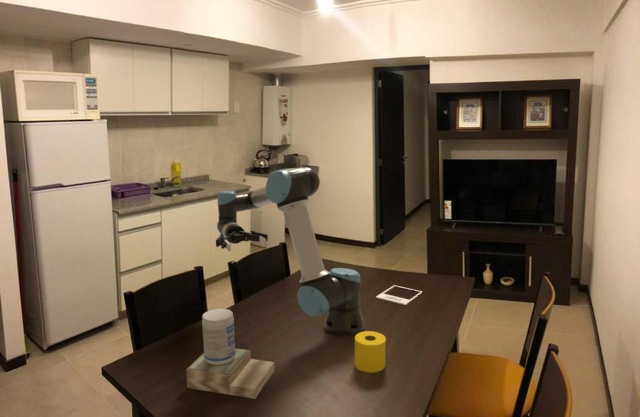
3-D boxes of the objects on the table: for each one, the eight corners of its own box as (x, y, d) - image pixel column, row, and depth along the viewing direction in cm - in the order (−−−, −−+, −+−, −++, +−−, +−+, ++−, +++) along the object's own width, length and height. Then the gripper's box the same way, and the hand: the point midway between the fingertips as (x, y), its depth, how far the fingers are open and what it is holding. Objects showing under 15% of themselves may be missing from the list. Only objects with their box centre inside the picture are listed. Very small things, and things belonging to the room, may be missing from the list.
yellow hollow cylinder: (353, 356, 163) (354, 331, 161) (383, 357, 163) (384, 331, 161) (355, 372, 154) (355, 345, 152) (386, 372, 153) (387, 345, 151)
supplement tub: (236, 364, 146) (234, 319, 143) (204, 368, 144) (201, 322, 141) (234, 349, 155) (232, 306, 152) (204, 352, 153) (202, 309, 150)
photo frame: (375, 296, 215) (394, 284, 229) (375, 298, 215) (393, 287, 230) (405, 303, 207) (422, 291, 221) (405, 306, 207) (422, 293, 221)
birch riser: (274, 370, 154) (274, 352, 153) (255, 398, 139) (254, 379, 138) (212, 361, 160) (211, 344, 159) (187, 387, 145) (186, 368, 144)
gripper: (263, 238, 201) (280, 251, 182) (203, 245, 191) (214, 259, 172) (262, 220, 200) (279, 232, 181) (202, 226, 190) (213, 239, 171)
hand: (248, 245), depth 176 cm, fingers open, 13 cm apart
